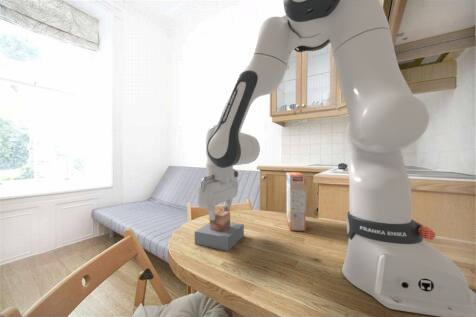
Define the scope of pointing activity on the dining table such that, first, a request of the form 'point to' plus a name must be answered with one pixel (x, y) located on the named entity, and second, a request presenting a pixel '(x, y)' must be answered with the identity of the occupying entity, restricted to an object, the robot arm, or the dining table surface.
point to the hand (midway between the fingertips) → (220, 215)
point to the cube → (220, 221)
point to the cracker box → (296, 201)
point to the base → (219, 236)
